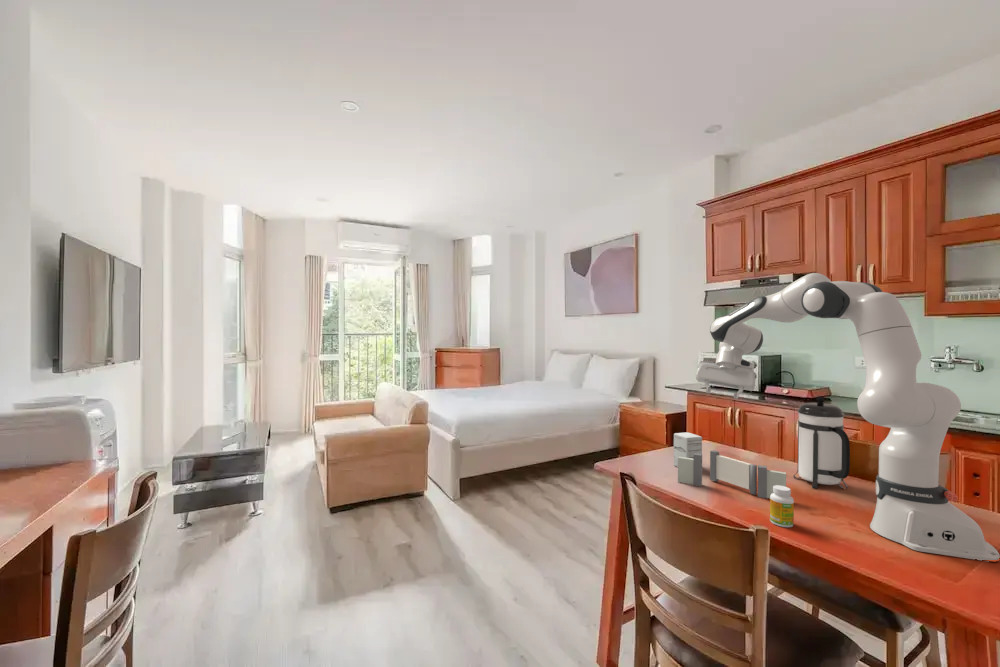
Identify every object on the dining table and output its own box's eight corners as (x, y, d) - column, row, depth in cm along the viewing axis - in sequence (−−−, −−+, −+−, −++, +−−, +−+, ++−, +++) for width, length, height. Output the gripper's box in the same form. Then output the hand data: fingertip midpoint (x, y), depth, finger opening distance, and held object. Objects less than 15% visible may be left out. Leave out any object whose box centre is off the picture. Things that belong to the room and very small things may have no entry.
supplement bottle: (782, 529, 112) (783, 492, 112) (765, 520, 117) (765, 485, 117) (798, 526, 113) (799, 490, 113) (780, 517, 119) (780, 483, 118)
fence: (785, 499, 131) (785, 465, 131) (785, 502, 129) (786, 467, 129) (678, 480, 148) (678, 450, 148) (677, 482, 146) (677, 452, 146)
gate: (758, 493, 135) (758, 462, 135) (754, 494, 134) (754, 463, 134) (713, 478, 148) (713, 450, 148) (710, 479, 147) (710, 451, 147)
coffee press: (785, 482, 146) (786, 396, 146) (802, 473, 156) (802, 391, 155) (848, 498, 132) (849, 402, 132) (862, 487, 142) (863, 398, 142)
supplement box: (672, 465, 164) (672, 433, 164) (688, 463, 167) (688, 431, 166) (686, 471, 157) (686, 437, 157) (702, 469, 160) (702, 436, 159)
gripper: (698, 355, 169) (691, 385, 164) (758, 364, 158) (752, 396, 153) (699, 363, 174) (692, 393, 168) (757, 372, 163) (751, 404, 157)
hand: (721, 395), depth 160 cm, fingers open, 8 cm apart
